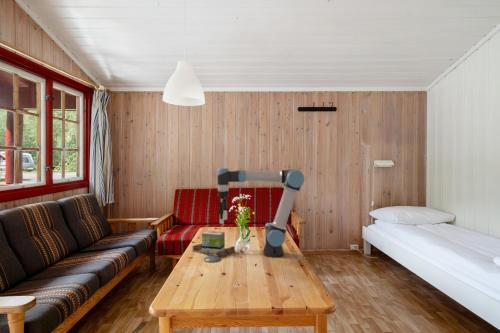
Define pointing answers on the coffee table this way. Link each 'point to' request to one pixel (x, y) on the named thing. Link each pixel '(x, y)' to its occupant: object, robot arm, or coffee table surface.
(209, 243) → the tea box
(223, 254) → the caddy
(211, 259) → the trivet
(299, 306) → the coffee table surface
